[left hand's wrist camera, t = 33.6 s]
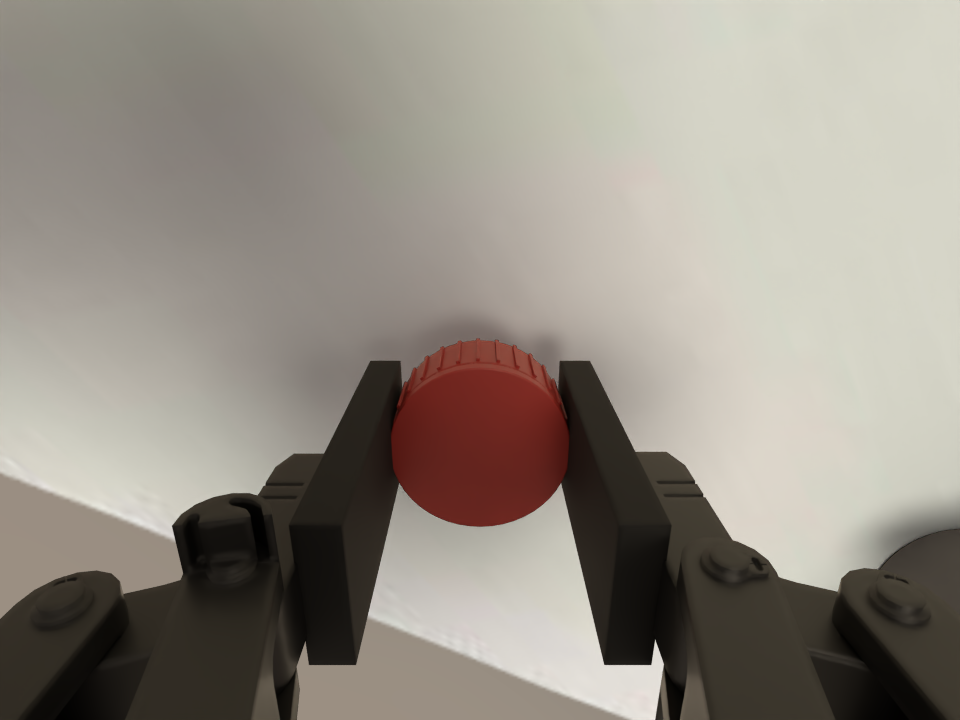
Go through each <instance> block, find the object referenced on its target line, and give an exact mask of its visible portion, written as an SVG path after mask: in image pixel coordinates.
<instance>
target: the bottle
mask: <svg viewBox="0 0 960 720" xmlns="http://www.w3.org/2000/svg"><path fill="white" fill-rule="evenodd" d="M880 570H885V571H888V572H891V573H894V574H898V575H901V576H904V577H907V578H909V579H911V580H913V581H915V582H917V583H919V584H921V585H923V586H925V587H927V588H928V589H930V590H931V591H932V592H933V593H935V594H936V595H937V596H939V597H940V598H941V599H943V600H944V601H945V602H946V603H948V604H949V605H950V606H951V607H952V608H953V609H954V610H955V611H956V612H957V613H958V614H959V615H960V529H955V530H946V531H941V532H937V533H933V534H930V535H927V536H925V537H922V538H920V539H917V540H915V541H914V542H912V543H910V544H908V545H906V546H905V547H903V548H902V549H900V550H899V551H898V552H896V553H895V554H894V555H893V556H892V557H891V558H890V559H889V560H888V561H887V562H886V563H885V564H884V565H883V566H882V567H881V569H880Z"/></svg>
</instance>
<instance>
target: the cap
mask: <svg viewBox="0 0 960 720" xmlns="http://www.w3.org/2000/svg"><path fill="white" fill-rule="evenodd" d="M396 408H398V409H397V412H396V415H395V418H394V422H393V427H392V430H391V444H392V460H393V470H394V473H395V475H396V477H397V479H398V481H399V483H400V485H401V486H402V488H403V489H404V491H405V492H406V493H407V494H408V495H409V497H410V498H411V499H412V500H413V501H414V502H415V503H417V504H418V505H419V506H420V507H421V508H423V509H424V510H426V511H427V512H429V513H431V514H432V515H434V516H436V517H438V518H441V519H443V520H446V521H448V522H452V523H455V524H459V525H466V526H477V527H483V526H495V525H501V524H505V523H509V522H512V521H515V520H517V519H520V518H522V517H524V516H526V515H528V514H530V513H532V512H533V511H535V510H536V509H538V508H539V507H540V506H542V505H543V504H544V503H545V502H546V501H547V500H548V499H549V498H550V497H551V496H552V495H553V494H554V492H555V491H556V490H557V488H558V487H559V485H560V484H561V482H562V480H563V478H564V476H565V474H566V471H567V465H568V450H569V429H568V426H567V416H566V412H565V409H564V406H563V403H562V400H561V396H560V394H559V392H558V389H557V386H556V383H555V380H554V378H553V379H551V378H550V376H549V375H548V373H547V371H546V368H545V366H544V365H542V366H541V365H540V364H539V363H538V362H537V361H536V360H534V359H533V357H532V354H530V353H529V354H526V353H524V352H523V351H521V350H519V349H517V347H516V346H515V345H513V346H509V345H506V344H503V343H499V340H495V342H493V341H481V340H480V338H479V339H476V340H475V341H467V342H461V341H458V343H457V344H454V345H451V346H448V347H446V348H444V346H443V347H441V348H440V351H438V352H436V353H434V354H433V355H431V356H430V357H429V356H428V355H427V356H426V357H425V360H424V362H423V363H421V364H420V366H419V367H418V368H417V369H416V368H414V369H413V371H412V374H411V377H410V378H409V380H408V382H405V383H404V385H403V388H402V391H401V395H400V398H399V401H398V404H397V407H396Z"/></svg>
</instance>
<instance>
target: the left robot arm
mask: <svg viewBox="0 0 960 720" xmlns="http://www.w3.org/2000/svg"><path fill="white" fill-rule="evenodd" d="M401 391H402V379H401V361H370V363H369V365H368V367H367V369H366V371H365V373H364V375H363V377H362V379H361V381H360V383H359V385H358V387H357V389H356V391H355V393H354V395H353V397H352V399H351V401H350V403H349V405H348V407H347V409H346V411H345V413H344V415H343V417H342V419H341V421H340V423H339V425H338V427H337V429H336V431H335V433H334V435H333V437H332V439H331V441H330V443H329V445H328V447H327V449H326V451H325V453H324V454H293V455H292V456H290V457H289V458H288V459H286V460H285V461H283V462H282V463H281V464H279V465H278V466H277V467H275V469H274V471H273V472H272V474H271V475H270V477H269V478H268V480H267V482H266V486H263V488H262V490H261V491H260V493H259V494H258V496H257V495H253V494H250V493H232V494H227V495H222V496H217V497H213V498H210V499H208V500H206V501H203V502H201V503H198V504H196V505H194V506H193V507H191V508H190V509H189V510H187V511H186V512H184V513H183V514H181V515H180V517H179V518H178V519H177V520H176V522H175V523H174V524H173V525H172V528H173V532H174V536H175V540H176V545H177V549H178V553H179V557H180V562H181V566H182V570H183V576H182V578H181V580H180V581H176V582H173V583H169V584H166V585H162V586H157V587H153V588H149V589H144V590H140V591H135V592H131V593H126V594H123V591H122V587H121V584H120V581H119V580H118V579H117V578H116V577H115V576H114V575H112V574H111V573H106V572H101V571H88V572H79V573H75V574H71V575H68V576H64V577H61V578H58V579H55V580H53V581H51V582H49V583H47V584H46V585H43V586H41V587H40V588H38V589H36V590H34V591H33V592H31V593H30V594H29V595H27V596H26V597H25V598H23V599H22V600H21V601H19V602H18V603H17V604H16V605H15V606H13V607H12V608H11V609H10V610H9V611H8V612H7V613H6V614H5V615H4V616H3V617H2V618H1V619H0V720H297V712H298V702H299V692H300V688H299V681H298V674H297V668H296V666H297V664H298V661H299V658H300V655H301V652H302V649H303V646H304V644H305V641H306V647H307V654H308V661H309V665H356V663H357V658H358V654H359V650H360V646H361V642H362V637H363V633H364V629H365V625H366V620H367V616H368V612H369V608H370V604H371V599H372V595H373V591H374V587H375V582H376V578H377V574H378V570H379V566H380V561H381V557H382V553H383V549H384V544H385V540H386V536H387V532H388V528H389V523H390V519H391V515H392V511H393V506H394V502H395V498H396V494H397V490H398V485H399V481H398V479H397V477H396V475H395V473H394V470H393V460H392V444H391V430H392V427H393V422H394V418H395V415H396V412H397V409H398V408H396V407H397V404H398V401H399V398H400V395H401ZM558 392H559V394H560V396H561V400H562V403H563V406H564V409H565V412H566V416H567V426H568V429H569V450H568V465H567V471H566V474H565V476H564V478H563V480H562V482H561V484H562V488H563V492H564V496H565V501H566V505H567V509H568V513H569V518H570V522H571V526H572V530H573V534H574V539H575V543H576V547H577V551H578V556H579V560H580V564H581V568H582V572H583V577H584V581H585V585H586V589H587V594H588V598H589V602H590V606H591V610H592V615H593V619H594V623H595V627H596V632H597V636H598V640H599V644H600V648H601V653H602V657H603V661H604V665H651V663H652V657H653V650H654V643H655V640H656V643H657V645H658V648H659V651H660V654H661V657H662V660H663V662H664V668H663V674H662V680H661V687H660V693H659V699H658V706H657V712H656V719H655V720H960V615H959V614H958V613H957V612H956V611H955V610H954V609H953V608H952V607H951V606H950V605H949V604H948V603H946V602H945V601H944V600H943V599H941V598H940V597H939V596H937V595H936V594H935V593H933V592H932V591H931V590H930V589H928V588H927V587H925V586H923V585H921V584H919V583H917V582H915V581H913V580H911V579H909V578H907V577H904V576H901V575H898V574H894V573H891V572H888V571H885V570H877V569H867V568H863V569H858V570H853V571H849V572H848V573H847V574H846V575H845V576H844V577H843V578H842V579H841V582H840V586H839V589H838V592H836V591H832V590H827V589H823V588H818V587H814V586H809V585H805V584H800V583H796V582H793V581H789V580H786V579H782V578H780V577H778V575H777V572H776V571H775V569H774V568H773V566H772V565H771V564H770V562H769V561H768V560H767V559H766V558H765V557H763V556H762V555H761V554H760V553H758V552H757V551H756V550H754V549H752V548H750V547H748V546H746V545H744V544H741V543H739V542H737V541H733V540H732V539H731V537H730V536H729V534H728V532H727V531H726V529H725V528H724V526H723V525H722V523H721V521H720V520H719V518H718V517H717V515H716V513H715V512H714V510H713V509H712V507H711V506H710V504H709V502H708V501H707V499H706V498H705V497H703V493H702V491H701V490H700V488H699V487H698V485H697V484H695V480H694V479H693V477H692V476H691V474H690V472H689V471H688V469H687V468H686V466H685V465H684V464H682V463H681V462H680V461H678V460H677V459H676V458H674V457H673V456H671V455H670V454H669V453H667V452H635V450H634V448H633V446H632V444H631V442H630V440H629V438H628V436H627V434H626V432H625V430H624V428H623V426H622V424H621V422H620V420H619V418H618V416H617V414H616V412H615V410H614V408H613V406H612V404H611V402H610V400H609V398H608V396H607V394H606V392H605V390H604V388H603V386H602V384H601V382H600V380H599V378H598V376H597V374H596V372H595V370H594V368H593V366H592V364H591V362H590V361H560V367H559V385H558Z"/></svg>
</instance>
